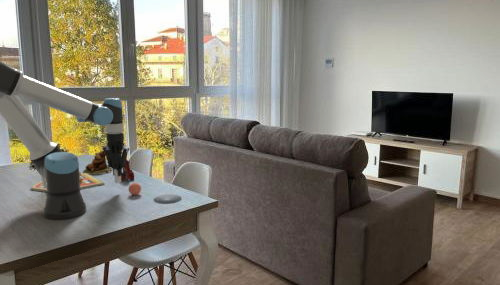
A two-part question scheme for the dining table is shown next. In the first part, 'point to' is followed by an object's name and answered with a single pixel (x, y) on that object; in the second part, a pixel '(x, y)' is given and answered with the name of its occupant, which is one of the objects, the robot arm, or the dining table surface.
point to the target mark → (167, 198)
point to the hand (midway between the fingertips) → (118, 182)
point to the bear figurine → (98, 165)
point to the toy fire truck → (127, 172)
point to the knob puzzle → (85, 182)
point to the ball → (134, 188)
